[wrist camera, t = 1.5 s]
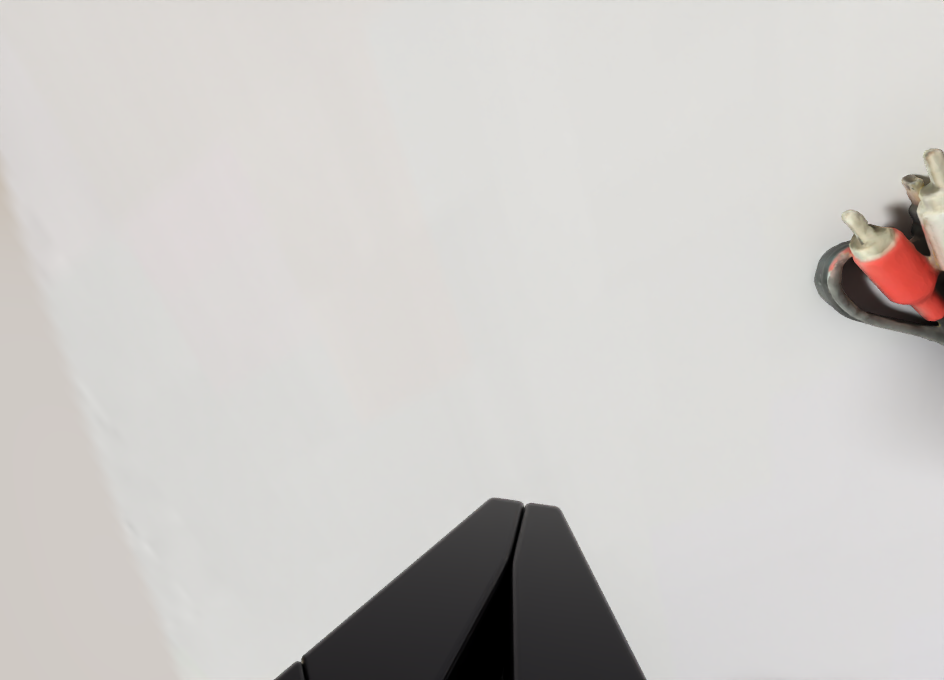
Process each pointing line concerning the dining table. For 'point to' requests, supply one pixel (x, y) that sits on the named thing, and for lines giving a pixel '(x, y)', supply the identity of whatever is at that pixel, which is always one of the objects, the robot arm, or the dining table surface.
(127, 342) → the dining table surface
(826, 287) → the composite cable
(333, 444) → the dining table surface
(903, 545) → the dining table surface
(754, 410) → the dining table surface
